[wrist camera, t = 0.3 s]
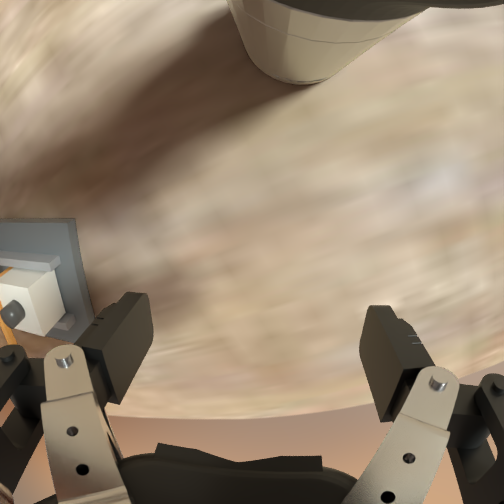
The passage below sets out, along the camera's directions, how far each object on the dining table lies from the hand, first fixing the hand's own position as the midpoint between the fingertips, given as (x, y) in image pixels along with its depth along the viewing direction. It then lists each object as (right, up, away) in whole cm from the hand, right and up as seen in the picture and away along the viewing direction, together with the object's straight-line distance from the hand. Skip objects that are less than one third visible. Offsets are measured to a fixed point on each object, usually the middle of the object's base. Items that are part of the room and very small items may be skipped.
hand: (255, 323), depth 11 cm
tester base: (-31, -1, +22) cm, 38 cm away
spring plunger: (-25, -2, +20) cm, 32 cm away
